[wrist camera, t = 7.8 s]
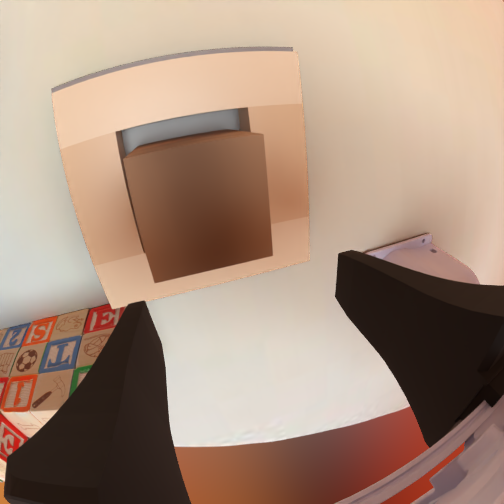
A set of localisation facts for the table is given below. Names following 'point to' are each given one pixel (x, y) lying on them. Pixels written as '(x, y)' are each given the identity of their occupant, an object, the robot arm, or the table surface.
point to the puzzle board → (171, 126)
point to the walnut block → (201, 201)
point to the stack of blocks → (46, 369)
